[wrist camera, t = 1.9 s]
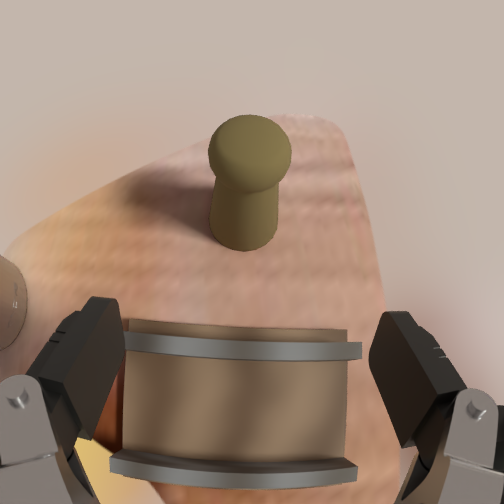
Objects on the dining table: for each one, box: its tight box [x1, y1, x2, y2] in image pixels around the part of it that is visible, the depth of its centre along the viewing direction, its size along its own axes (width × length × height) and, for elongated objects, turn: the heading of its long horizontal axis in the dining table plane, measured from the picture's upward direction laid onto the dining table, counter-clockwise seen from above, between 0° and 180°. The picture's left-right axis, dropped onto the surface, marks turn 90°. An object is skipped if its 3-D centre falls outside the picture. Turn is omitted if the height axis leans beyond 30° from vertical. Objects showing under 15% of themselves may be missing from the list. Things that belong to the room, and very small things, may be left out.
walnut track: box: [110, 319, 362, 490], centre depth 21 cm, size 17×13×4 cm
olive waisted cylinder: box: [208, 115, 292, 252], centre depth 23 cm, size 6×6×11 cm
